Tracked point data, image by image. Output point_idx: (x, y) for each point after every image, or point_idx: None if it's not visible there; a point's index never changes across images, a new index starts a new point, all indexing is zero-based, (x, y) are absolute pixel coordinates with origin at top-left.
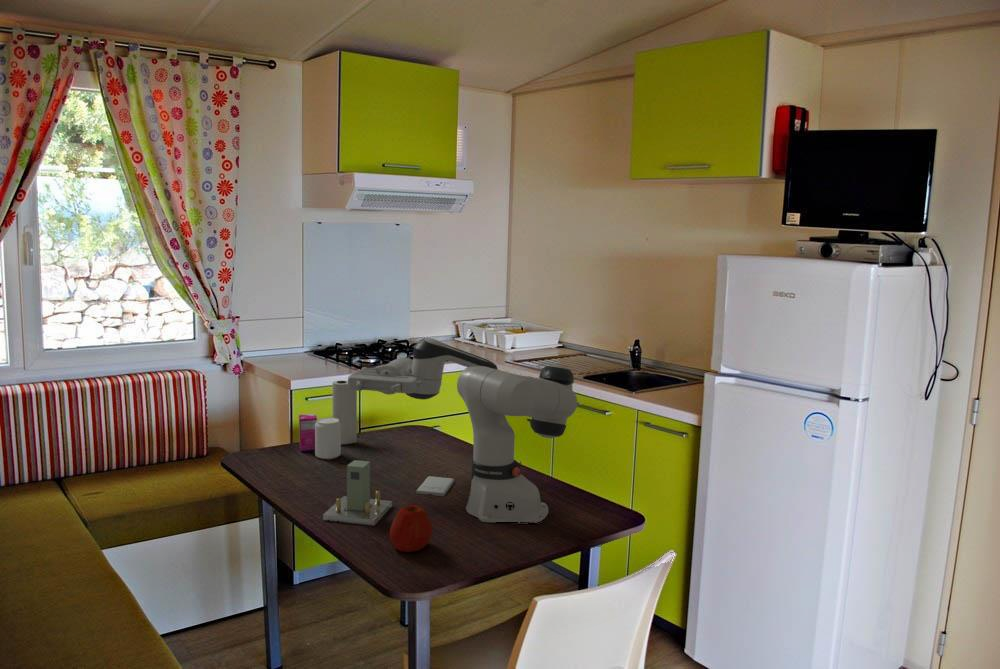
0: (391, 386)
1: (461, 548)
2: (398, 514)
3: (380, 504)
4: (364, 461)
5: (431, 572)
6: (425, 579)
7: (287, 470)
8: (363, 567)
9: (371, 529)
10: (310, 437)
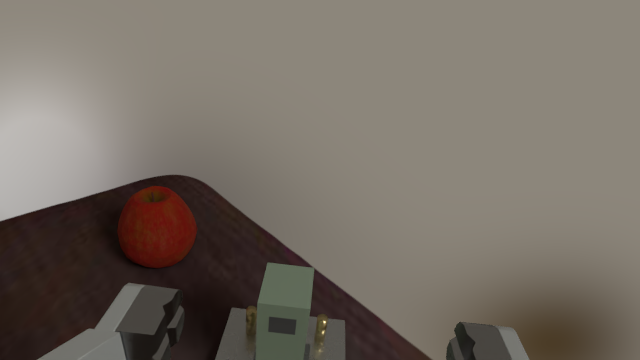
0: (134, 312)
1: (69, 253)
2: (179, 197)
3: None
4: (274, 301)
5: None
6: None
7: None
8: (232, 206)
9: (235, 301)
10: None
